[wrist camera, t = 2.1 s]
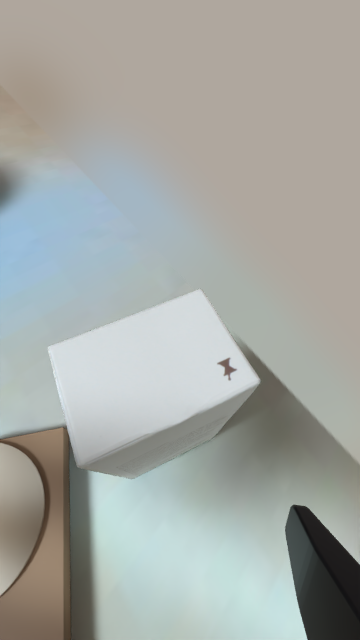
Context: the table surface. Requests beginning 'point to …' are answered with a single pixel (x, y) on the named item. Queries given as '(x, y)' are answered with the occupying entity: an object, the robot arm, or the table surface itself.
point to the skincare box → (150, 385)
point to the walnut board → (35, 537)
